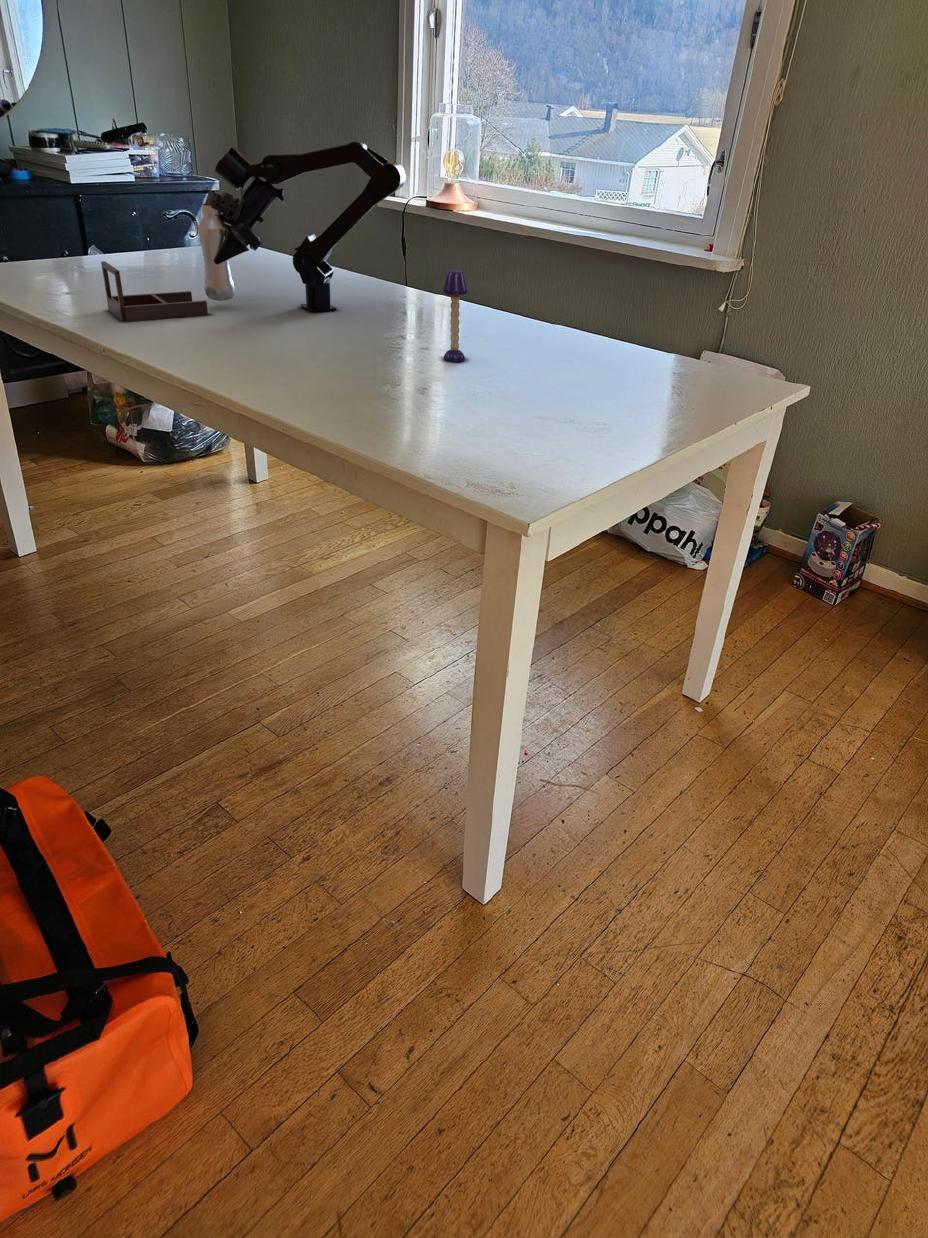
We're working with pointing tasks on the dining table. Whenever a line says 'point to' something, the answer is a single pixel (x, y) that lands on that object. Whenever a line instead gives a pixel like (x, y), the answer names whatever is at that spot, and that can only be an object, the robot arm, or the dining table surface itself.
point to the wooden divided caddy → (149, 302)
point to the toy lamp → (455, 311)
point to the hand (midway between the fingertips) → (210, 260)
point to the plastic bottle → (211, 241)
